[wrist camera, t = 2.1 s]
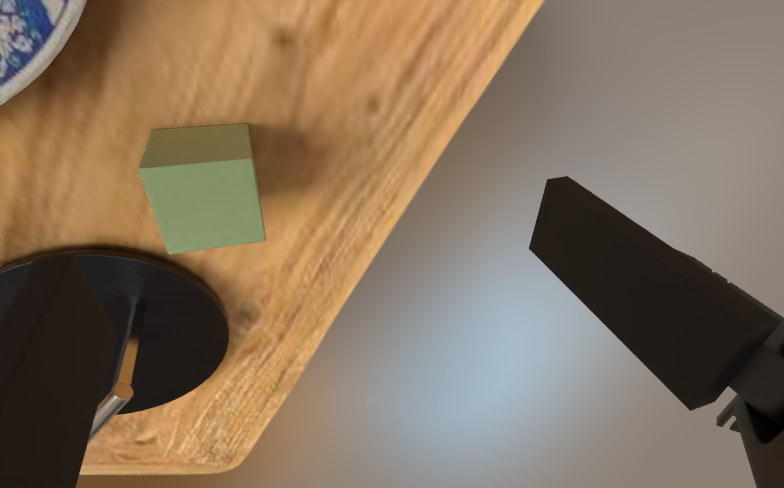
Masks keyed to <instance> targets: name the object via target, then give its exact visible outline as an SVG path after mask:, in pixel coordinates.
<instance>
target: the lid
mask: <svg viewBox="0 0 784 488" xmlns="http://www.w3.org/2000/svg"><path fill="white" fill-rule="evenodd" d="M68 254H73V255H74V257H75V259H76V260H77V262H78V264H79V266H80V267H81V269H82V271H83V273H84V274H85V276H86V278H87V280H88V281H89V283H90V285H91V287H92V288H93V290H94V292H95V294H96V295H97V297H98V299H99V301H100V302H101V304H102V306H103V308H104V309H105V311H106V313H107V315H108V316H109V318H110V320H111V322H112V323H113V325H114V327H115V329H116V330H117V332H118V335H117V339H116V342H115V346H114V349H113V353H112V357H111V360H110V364H109V368H108V371H107V375H106V378H105V382H104V386H103V389H102V393H101V397H100V400H99V404H98V407H97V411H96V415H95V418H94V422H93V426H92V429H91V433H90V436H89V440H88V443H89V442H90V441H91V440H92V439H93V438H94V437H95V436H96V435H97V434H98V433H99V431H100V430H101V429H102V428H103V427H104V426H105V425H106V424H107V423H108V422H109V421H110V420H111V419H112V418H113V417H114V416H115V415H120V414H128V413H133V412H138V411H143V410H146V409H150V408H154V407H157V406H160V405H163V404H165V403H168V402H171V401H173V400H175V399H177V398H179V397H182V396H183V395H185V394H187V393H189V392H190V391H192V390H194V389H195V388H196V387H198V386H199V385H201V384H202V383H203V382H204V381H205V380H207V379H208V378H209V377H210V376H211V375H212V374H213V373H214V371H215V370H216V369H217V368H218V366H219V365H220V363H221V362H222V360H223V358H224V356H225V353H226V351H227V347H228V342H229V325H228V320H227V316H226V314H225V311H224V309H223V307H222V305H221V304H220V302H219V300H218V299H217V298H216V297H215V295H214V294H213V293H212V292H211V291H210V290H209V289H208V288H207V287H206V286H205V285H203V284H202V283H201V282H200V281H199V280H197V279H196V278H194V277H193V276H191V275H190V274H188V273H186V272H184V271H182V270H180V269H178V268H176V267H174V266H172V265H170V264H167V263H164V262H162V261H159V260H156V259H153V258H149V257H145V256H142V255H138V254H132V253H126V252H121V251H110V250H68V251H57V252H52V253H46V254H41V255H36V256H33V257H29V258H26V259H23V260H19V261H17V262H14V263H12V264H9V265H7V266H5V267H2V268H0V316H1V314H2V313H3V311H4V309H5V308H6V306H7V304H8V303H9V301H10V299H11V298H12V296H13V294H14V293H15V291H16V289H17V288H18V286H19V284H20V283H21V281H22V279H23V278H24V276H25V275H26V273H27V271H28V270H29V268H30V266H31V265H32V263H33V261H34V260H36V259H43V258H49V257H55V256H62V255H68Z"/></svg>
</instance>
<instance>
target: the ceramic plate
mask: <svg viewBox="0 0 784 488" xmlns="http://www.w3.org/2000/svg"><path fill="white" fill-rule="evenodd" d="M86 2H87V0H0V105H2V104H3V103H5V102H6V101H8V100H9V99H11V98H12V97H13V96H15V95H16V94H18V93H19V92H20V91H22V90H23V89H25V88H26V87H27V86H28V85H29V84H30V83H31V82H32V81H34V80H35V79H36V78H37V77H38V76H39V75H40V74H41V73H42V72H43V71H44V70H45V69H46V68H47V67H48V66H49V65H50V63H51V62H52V61H53V60H54V58H55V57H56V56H57V55H58V53H59V52H60V51H61V50H62V48H63V47H64V45H65V44H66V42H67V40H68V39H69V37H70V35H71V33H72V32H73V30H74V28H75V27H76V25H77V23H78V21H79V19H80V16H81V14H82V11H83V9H84V7H85V4H86Z"/></svg>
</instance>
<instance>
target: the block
mask: <svg viewBox="0 0 784 488" xmlns="http://www.w3.org/2000/svg"><path fill="white" fill-rule="evenodd" d="M138 171H139V173H140V176H141V179H142V182H143V185H144V187H145V190H146V193H147V196H148V199H149V201H150V204H151V207H152V210H153V213H154V216H155V218H156V221H157V224H158V227H159V230H160V232H161V235H162V238H163V241H164V244H165V246H166V249H167V252H168V254H169V255H170V254H177V253H184V252H191V251H198V250H205V249H212V248H219V247H226V246H233V245H240V244H247V243H254V242H261V241H266V236H265V229H264V222H263V215H262V208H261V200H260V194H259V188H258V182H257V176H256V170H255V164H254V158H253V153H252V147H251V141H250V135H249V129H248V124H231V125H216V126H201V127H186V128H171V129H156V130H152V133H151V135H150V138H149V141H148V143H147V146H146V149H145V151H144V154H143V157H142V160H141V162H140V165H139V168H138Z"/></svg>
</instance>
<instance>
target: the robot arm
mask: <svg viewBox="0 0 784 488" xmlns="http://www.w3.org/2000/svg"><path fill="white" fill-rule="evenodd" d="M529 249H530V250H531V251H532V252H533V253H534V254H535V255H536V256H537V257H538V258H539V259H540V260H541V261H542V262H543V263H544V264H545V265H546V266H547V267H548V268H549V269H550V270H551V271H552V272H553V273H554V274H555V275H556V276H557V277H558V278H559V279H560V280H561V281H562V282H563V283H564V284H565V285H566V286H567V287H568V288H569V289H570V290H571V291H572V292H573V293H574V294H575V295H576V296H577V297H578V298H579V299H580V300H581V301H582V302H583V303H584V304H585V305H586V306H587V307H588V308H589V309H590V310H591V311H592V312H593V313H594V314H595V315H596V316H597V317H598V318H599V319H600V320H601V321H602V322H603V323H604V324H605V325H606V326H607V327H608V328H609V329H610V330H611V331H612V332H613V334H615V335H616V336H617V338H619V340H620V341H622V342H623V344H624V345H626V347H627V348H628V349H629V350H630V351H631V352H633V354H634V355H635V356H637V358H638V359H639V360H640V361H641V362H643V364H644V365H645V366H646V367H647V368H648V369H649V370H650V371H651V372H652V373H653V374H654V375H655V376H656V377H657V378H658V379H659V380H660V381H661V382H662V383H664V385H665V386H666V387H667V388H668V389H669V390H670V391H671V392H672V393H673V394H674V395H675V396H676V397H677V398H678V399H679V400H680V401H681V402H682V403H683V404H684V405H685V406H686V407H687V408H688V409H689V410H690V411H691V410H694V409H696V408H699V407H702V406H704V405H707V404H710V403H712V402H715V401H716V400H717V398H718V397H719V396H720V395H721V393H722V392H723V391H724V390H725V389H726V388H727V386H729V387H731V389H733V390H734V391H735V392H736V393H737V395H736V396H735V398H734V399H733V400H732V401H731V402H730V403H729V404H728V405H727V407H726V408H725V409H724V410H723V411H722V412H721V414H720V415H719V416H718V417H717V426H721V427H723V425H724V424H725V423H726V422H727V421H728V420H729V419H730V418H731V417H732V416H735V417H736V420H735V421H734V422H733V423H732V425H731V426H730V430H733V431H737V432H740V433H741V437H742V440H743V443H744V447H745V450H746V453H747V457H748V460H749V463H750V467H751V470H752V473H753V477H754V480H755V483H756V486H757V488H784V318H783V317H782V316H780V315H779V314H777V313H776V312H774V311H773V310H771V309H770V308H768V307H767V306H765V305H764V304H762V303H761V302H759V301H758V300H756V299H755V298H753V297H752V296H750V295H749V294H747V293H746V292H745V291H743V290H742V289H740V288H739V287H737V286H736V285H734V284H732V283H728V282H727V279H725V278H723V277H722V276H720V275H719V274H718V273H716V272H714V273H713V272H712V269H710V268H709V267H707V266H706V265H704V264H703V263H701V262H700V261H698V260H697V259H695V258H694V257H691V256H689V255H687V254H685V253H683V252H680V251H678V250H676V249H674V248H672V247H671V246H669V245H668V244H666V243H665V242H663V241H662V240H660V239H659V238H657V237H656V236H654V235H653V234H651V233H650V232H649V231H647V230H646V229H644V228H643V227H641V226H640V225H638V224H637V223H635V222H634V221H632V220H631V219H629V218H628V217H626V216H625V215H624V214H622V213H621V212H619V211H618V210H616V209H615V208H613V207H612V206H610V205H609V204H607V203H606V202H605V201H603V200H601V199H600V198H598V197H597V196H596V195H594V194H592V193H591V192H590V191H588V190H587V189H585V188H584V187H582V186H581V185H579V184H578V183H577V182H575V181H574V180H572V179H571V178H569V177H568V176H566V177H559V178H553V179H548V180H547V183H546V186H545V190H544V194H543V198H542V202H541V205H540V209H539V213H538V216H537V220H536V224H535V228H534V231H533V235H532V239H531V243H530V246H529ZM117 335H118V332H117V330H116V329H115V327H114V325H113V323H112V322H111V320H110V318H109V316H108V315H107V313H106V311H105V309H104V308H103V306H102V304H101V302H100V301H99V299H98V297H97V295H96V294H95V292H94V290H93V288H92V287H91V285H90V283H89V281H88V280H87V278H86V276H85V274H84V273H83V271H82V269H81V267H80V266H79V264H78V262H77V260H76V259H75V257H74V255H73V254H68V255H62V256H55V257H49V258H43V259H36V260H34V261H33V263H32V265H31V266H30V268H29V270H28V271H27V273H26V275H25V276H24V278H23V279H22V281H21V283H20V284H19V286H18V288H17V289H16V291H15V293H14V294H13V296H12V298H11V299H10V301H9V303H8V304H7V306H6V308H5V309H4V311H3V313H2V314H1V316H0V488H75V487H76V484H77V480H78V476H79V473H80V469H81V465H82V462H83V458H84V455H85V451H86V447H87V444H88V440H89V436H90V433H91V429H92V426H93V422H94V418H95V415H96V411H97V407H98V404H99V400H100V397H101V393H102V389H103V386H104V382H105V378H106V375H107V371H108V368H109V364H110V360H111V357H112V353H113V349H114V346H115V342H116V339H117Z"/></svg>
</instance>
